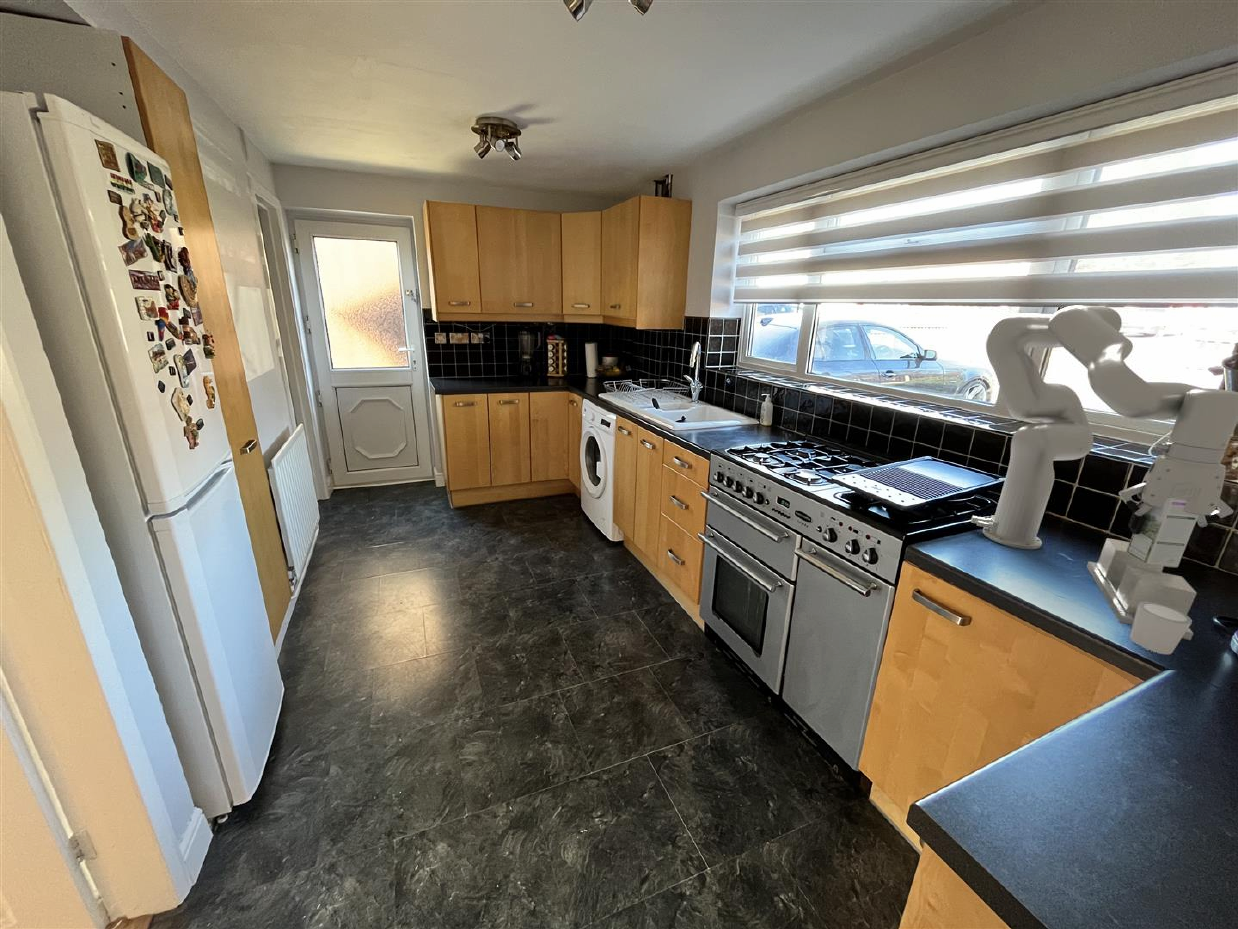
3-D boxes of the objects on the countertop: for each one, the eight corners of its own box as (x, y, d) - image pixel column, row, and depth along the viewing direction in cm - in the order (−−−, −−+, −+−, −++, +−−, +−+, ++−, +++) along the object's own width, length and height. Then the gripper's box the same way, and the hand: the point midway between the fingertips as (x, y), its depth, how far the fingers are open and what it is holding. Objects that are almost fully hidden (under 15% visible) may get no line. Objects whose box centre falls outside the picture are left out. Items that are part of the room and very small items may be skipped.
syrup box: (1179, 568, 101) (1207, 501, 96) (1144, 564, 102) (1171, 497, 97) (1156, 555, 106) (1182, 491, 101) (1123, 551, 107) (1148, 488, 102)
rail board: (1119, 622, 99) (1135, 583, 96) (1086, 566, 120) (1099, 533, 117) (1190, 640, 94) (1209, 599, 91) (1143, 579, 115) (1157, 545, 113)
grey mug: (1162, 637, 95) (1176, 605, 92) (1187, 660, 88) (1203, 627, 86) (1116, 629, 97) (1129, 597, 94) (1138, 651, 90) (1152, 618, 88)
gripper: (1138, 450, 98) (1108, 532, 103) (1270, 466, 90) (1230, 555, 95) (1126, 442, 104) (1098, 520, 109) (1248, 457, 96) (1212, 541, 101)
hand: (1159, 536), depth 102 cm, fingers closed on syrup box, 7 cm apart
